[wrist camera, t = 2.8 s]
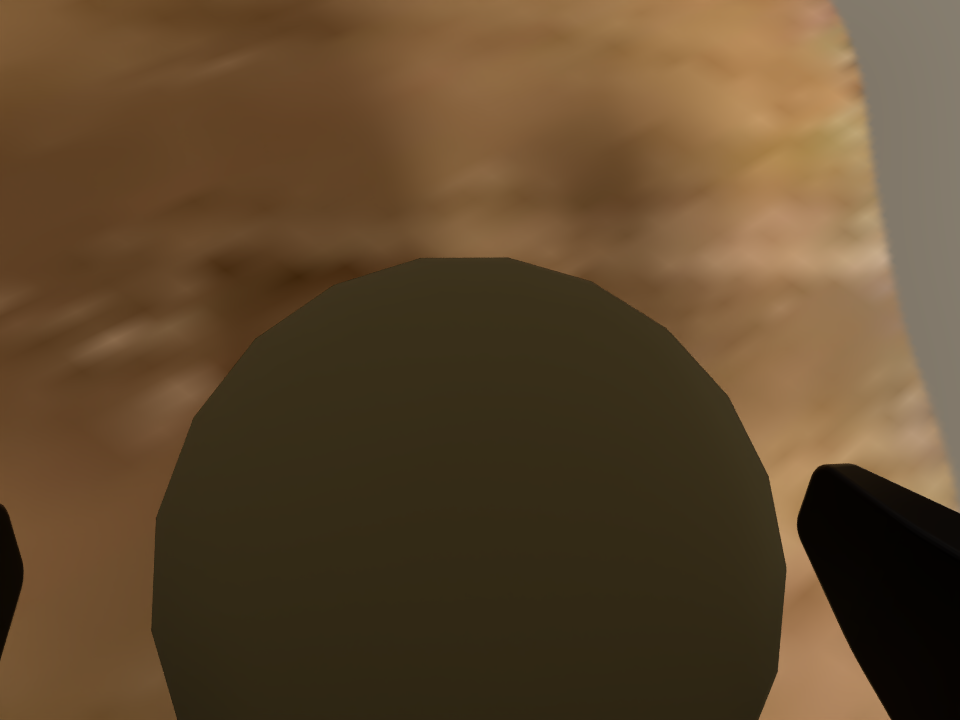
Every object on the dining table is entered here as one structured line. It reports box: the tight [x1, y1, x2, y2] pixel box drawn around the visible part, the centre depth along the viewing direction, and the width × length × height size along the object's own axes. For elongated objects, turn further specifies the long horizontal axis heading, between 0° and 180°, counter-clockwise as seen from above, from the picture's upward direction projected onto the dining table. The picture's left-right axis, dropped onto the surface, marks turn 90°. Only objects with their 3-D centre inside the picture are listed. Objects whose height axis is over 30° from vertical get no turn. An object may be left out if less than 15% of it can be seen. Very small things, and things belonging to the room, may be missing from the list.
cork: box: [151, 258, 786, 720], centre depth 10 cm, size 6×6×11 cm
